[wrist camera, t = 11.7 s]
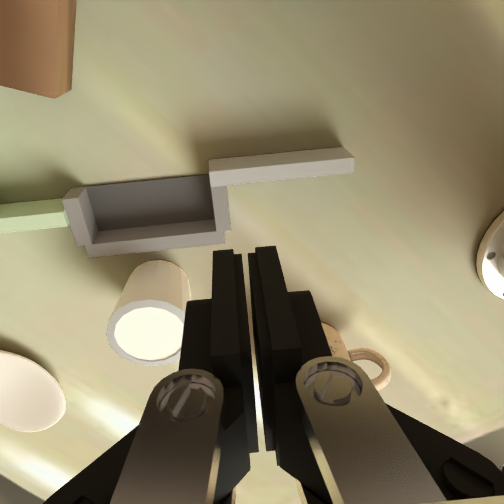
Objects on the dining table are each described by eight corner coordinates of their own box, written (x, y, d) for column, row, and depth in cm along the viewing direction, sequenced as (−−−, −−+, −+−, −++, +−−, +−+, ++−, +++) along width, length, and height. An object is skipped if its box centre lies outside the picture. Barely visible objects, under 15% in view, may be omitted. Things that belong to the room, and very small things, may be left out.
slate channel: (353, -93, 26) (376, -110, 22) (341, 183, 35) (356, 202, 32) (-129, -61, 24) (-184, -74, 21) (-9, 219, 34) (-34, 242, 30)
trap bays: (191, -153, 24) (189, -169, 22) (230, 229, 36) (232, 242, 34) (-30, -140, 23) (-54, -156, 21) (88, 244, 36) (80, 259, 33)
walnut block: (77, -6, 27) (58, -9, 23) (72, 89, 30) (54, 98, 26) (-24, -36, 26) (-60, -44, 22) (-20, 66, 28) (-51, 73, 25)
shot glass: (108, 267, 37) (89, 316, 31) (179, 244, 36) (174, 289, 30) (140, 323, 40) (129, 377, 34) (206, 302, 40) (207, 353, 34)
